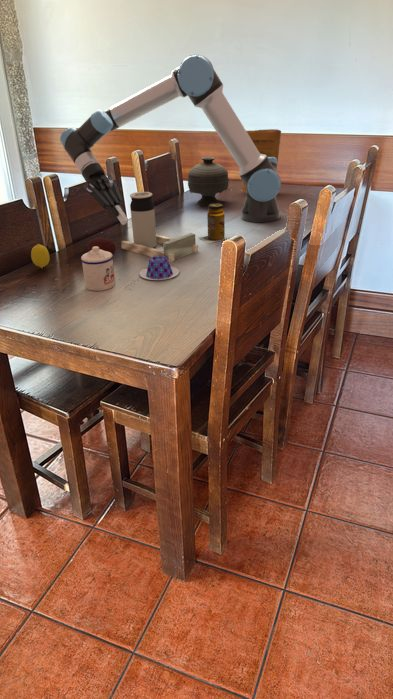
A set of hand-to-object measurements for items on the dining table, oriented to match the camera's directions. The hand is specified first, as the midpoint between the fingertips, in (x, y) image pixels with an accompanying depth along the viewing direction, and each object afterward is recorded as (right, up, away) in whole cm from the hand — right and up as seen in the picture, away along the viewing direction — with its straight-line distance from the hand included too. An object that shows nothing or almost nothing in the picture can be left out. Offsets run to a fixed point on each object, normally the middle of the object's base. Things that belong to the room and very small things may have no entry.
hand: (125, 222), depth 187 cm
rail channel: (+12, -11, -6) cm, 18 cm away
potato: (-6, -14, -9) cm, 17 cm away
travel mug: (+7, -9, -2) cm, 12 cm away
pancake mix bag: (+54, +28, +61) cm, 87 cm away
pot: (+31, +20, +48) cm, 60 cm away
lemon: (-24, -19, -18) cm, 35 cm away
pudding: (+14, -22, -26) cm, 37 cm away
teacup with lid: (-3, -26, -31) cm, 40 cm away
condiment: (+32, -5, +3) cm, 32 cm away
